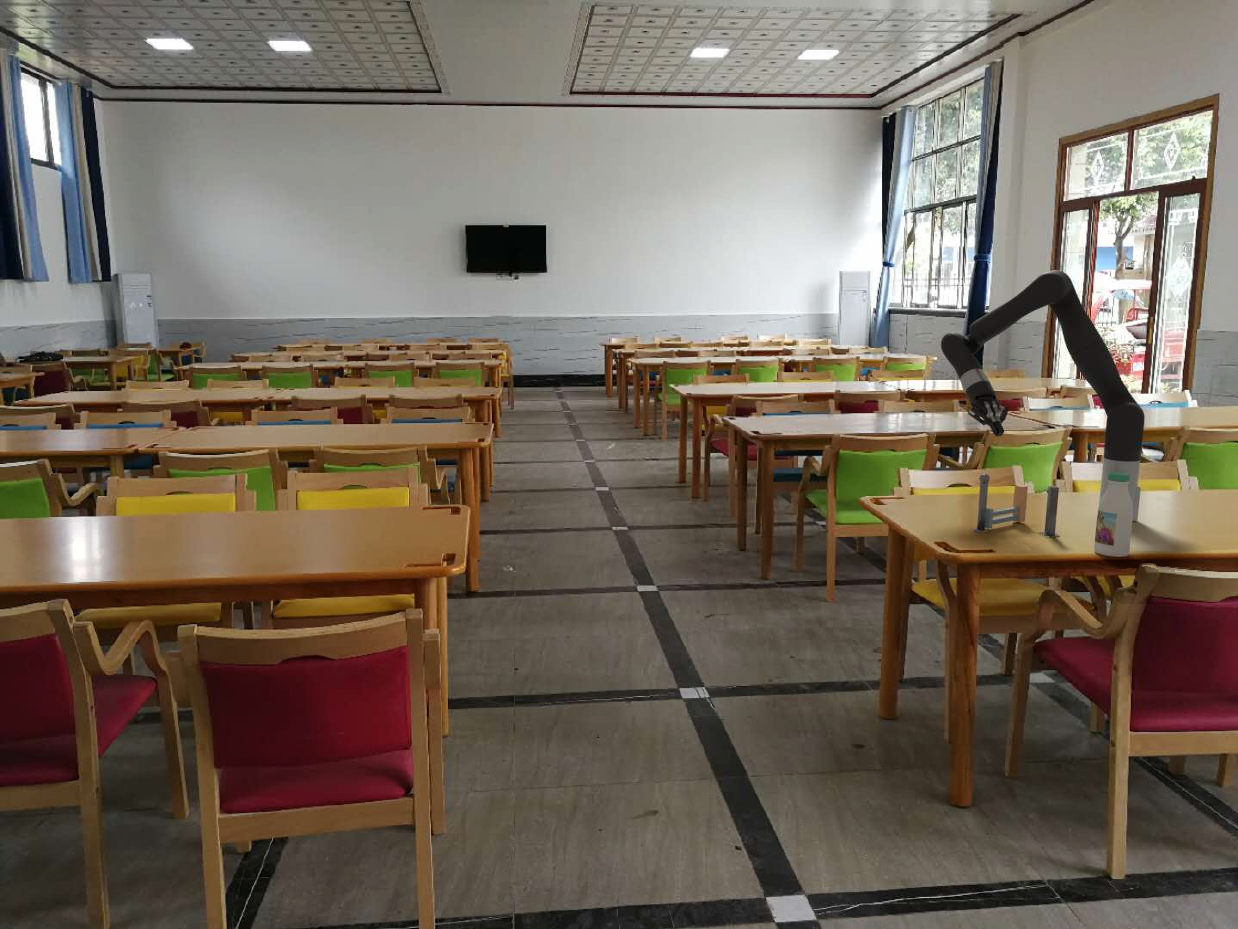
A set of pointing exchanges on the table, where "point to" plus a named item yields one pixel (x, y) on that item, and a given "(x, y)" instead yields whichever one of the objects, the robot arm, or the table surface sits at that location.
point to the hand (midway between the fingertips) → (1000, 434)
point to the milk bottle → (1114, 518)
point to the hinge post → (982, 503)
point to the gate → (1010, 509)
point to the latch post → (1051, 512)
